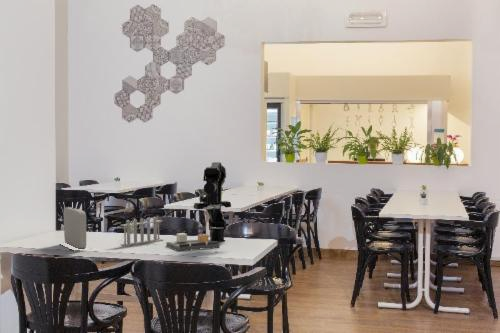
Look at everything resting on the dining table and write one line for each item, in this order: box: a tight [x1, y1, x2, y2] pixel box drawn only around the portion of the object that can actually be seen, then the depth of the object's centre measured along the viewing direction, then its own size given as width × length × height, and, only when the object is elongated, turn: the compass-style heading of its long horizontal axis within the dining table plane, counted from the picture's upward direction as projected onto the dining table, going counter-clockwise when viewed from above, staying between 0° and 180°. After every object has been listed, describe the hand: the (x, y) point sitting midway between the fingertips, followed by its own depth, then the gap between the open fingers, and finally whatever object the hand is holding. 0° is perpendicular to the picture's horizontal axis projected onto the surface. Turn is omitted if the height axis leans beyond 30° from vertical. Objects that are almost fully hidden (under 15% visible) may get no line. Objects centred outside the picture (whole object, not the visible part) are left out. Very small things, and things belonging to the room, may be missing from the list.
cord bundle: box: [179, 241, 219, 247], centre depth 366 cm, size 21×2×2 cm, turn 117°
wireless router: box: [62, 206, 93, 252], centre depth 376 cm, size 31×10×20 cm, turn 31°
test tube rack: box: [120, 216, 164, 247], centre depth 387 cm, size 25×4×13 cm, turn 136°
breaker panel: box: [165, 239, 220, 252], centre depth 373 cm, size 22×18×2 cm
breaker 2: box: [197, 233, 209, 243], centre depth 371 cm, size 4×4×4 cm
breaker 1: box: [176, 232, 188, 242], centre depth 376 cm, size 4×4×4 cm
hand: (212, 221), depth 373 cm, fingers closed
